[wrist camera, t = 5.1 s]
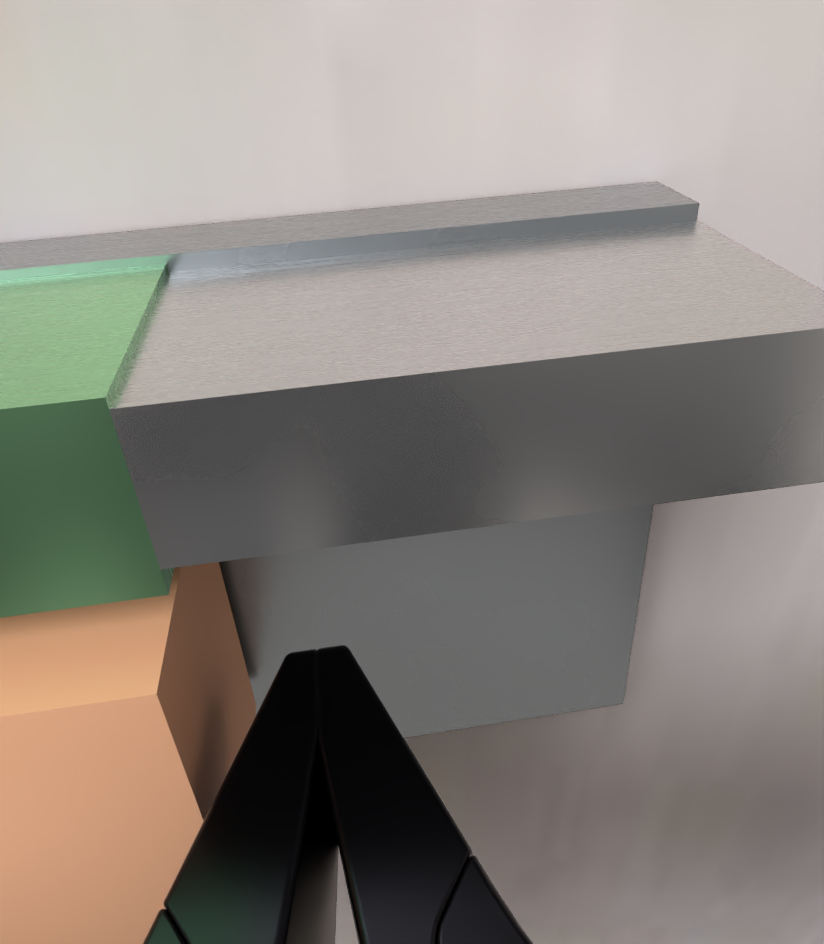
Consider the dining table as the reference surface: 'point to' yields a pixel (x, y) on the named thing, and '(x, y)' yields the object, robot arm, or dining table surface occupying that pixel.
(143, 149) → the dining table surface
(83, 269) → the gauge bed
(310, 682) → the robot arm
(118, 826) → the cardboard box
